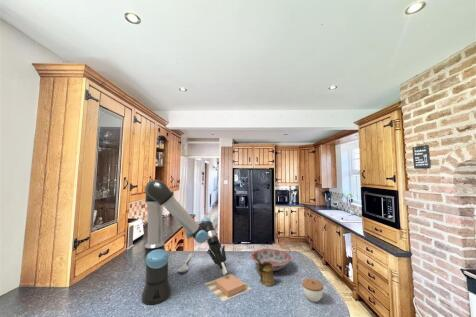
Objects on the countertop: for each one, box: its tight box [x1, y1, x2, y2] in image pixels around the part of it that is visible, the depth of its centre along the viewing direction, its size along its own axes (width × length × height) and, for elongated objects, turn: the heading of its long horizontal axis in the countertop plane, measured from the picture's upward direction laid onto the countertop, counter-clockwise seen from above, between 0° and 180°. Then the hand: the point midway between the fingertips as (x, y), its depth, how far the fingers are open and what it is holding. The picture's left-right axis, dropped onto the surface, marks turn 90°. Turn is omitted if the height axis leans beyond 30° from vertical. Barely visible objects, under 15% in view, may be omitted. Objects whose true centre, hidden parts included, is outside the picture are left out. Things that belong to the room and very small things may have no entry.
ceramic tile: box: [214, 273, 246, 297], centre depth 115 cm, size 3×12×14 cm
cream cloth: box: [204, 273, 253, 302], centre depth 117 cm, size 22×20×1 cm
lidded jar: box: [301, 278, 324, 303], centre depth 106 cm, size 11×11×9 cm
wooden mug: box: [253, 254, 275, 287], centre depth 123 cm, size 9×14×18 cm, turn 97°
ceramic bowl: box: [250, 248, 292, 272], centre depth 143 cm, size 29×29×8 cm
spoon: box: [176, 252, 193, 274], centre depth 150 cm, size 35×8×3 cm, turn 2°
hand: (225, 273), depth 120 cm, fingers closed
